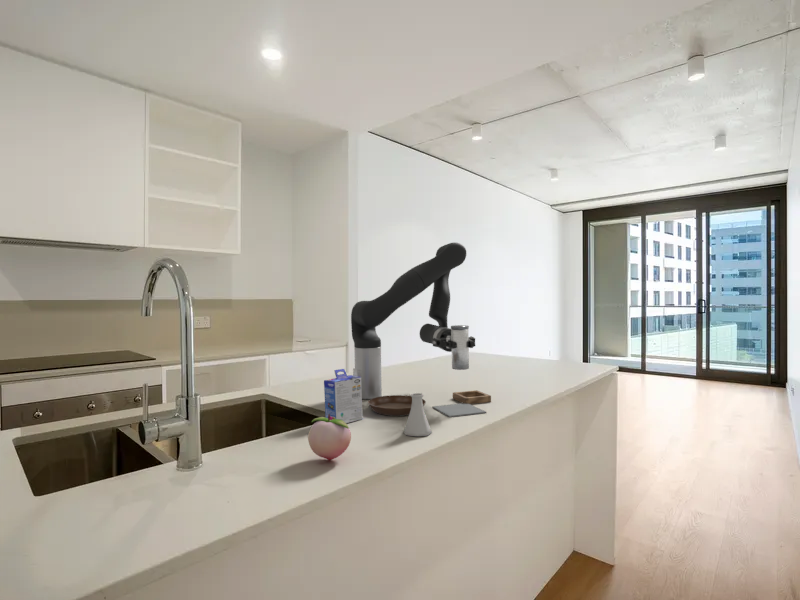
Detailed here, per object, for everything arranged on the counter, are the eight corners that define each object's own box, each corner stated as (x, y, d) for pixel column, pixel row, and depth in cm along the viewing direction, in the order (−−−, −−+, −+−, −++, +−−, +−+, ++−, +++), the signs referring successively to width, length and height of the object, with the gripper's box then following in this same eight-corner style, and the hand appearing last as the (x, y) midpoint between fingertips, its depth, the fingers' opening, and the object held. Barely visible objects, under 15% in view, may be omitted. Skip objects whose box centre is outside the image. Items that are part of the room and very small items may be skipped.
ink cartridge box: (350, 416, 135) (350, 366, 135) (363, 419, 131) (362, 368, 131) (323, 423, 128) (322, 371, 127) (336, 427, 124) (335, 373, 124)
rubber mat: (449, 417, 132) (449, 415, 132) (432, 407, 143) (432, 406, 143) (486, 413, 136) (486, 411, 136) (466, 403, 147) (466, 402, 147)
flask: (432, 429, 121) (431, 391, 121) (431, 437, 114) (430, 397, 114) (404, 428, 122) (404, 391, 121) (402, 437, 114) (401, 397, 114)
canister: (456, 370, 138) (456, 327, 137) (448, 367, 143) (447, 325, 142) (472, 368, 140) (471, 326, 139) (463, 366, 145) (463, 325, 144)
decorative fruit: (300, 466, 96) (299, 418, 96) (317, 452, 104) (316, 408, 104) (342, 470, 94) (341, 421, 93) (356, 456, 101) (355, 410, 101)
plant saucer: (404, 401, 153) (404, 392, 153) (437, 412, 139) (437, 402, 139) (357, 409, 144) (357, 399, 144) (388, 422, 129) (388, 411, 129)
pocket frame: (465, 404, 146) (465, 398, 146) (452, 398, 155) (452, 392, 155) (491, 401, 150) (490, 395, 150) (476, 396, 158) (476, 390, 158)
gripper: (425, 328, 154) (439, 333, 137) (466, 327, 156) (485, 331, 140) (426, 351, 154) (440, 358, 137) (467, 349, 157) (485, 356, 140)
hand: (462, 344), depth 139 cm, fingers closed on canister, 5 cm apart
